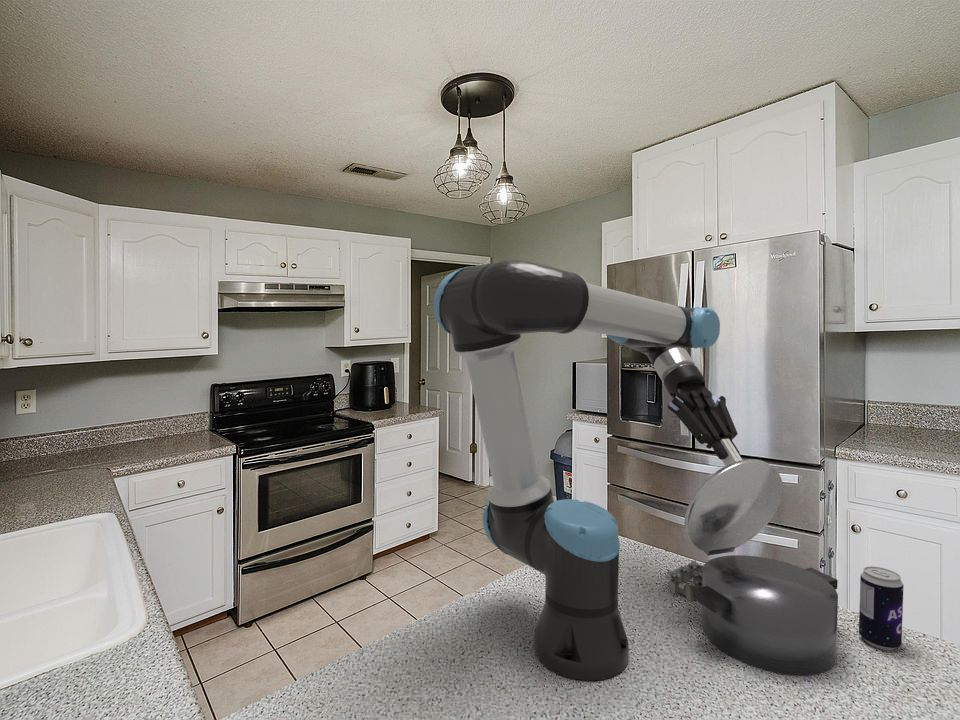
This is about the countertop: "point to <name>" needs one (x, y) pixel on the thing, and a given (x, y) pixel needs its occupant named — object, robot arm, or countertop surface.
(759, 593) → the cooker pot
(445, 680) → the countertop surface
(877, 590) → the beverage can
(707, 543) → the lid
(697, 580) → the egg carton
